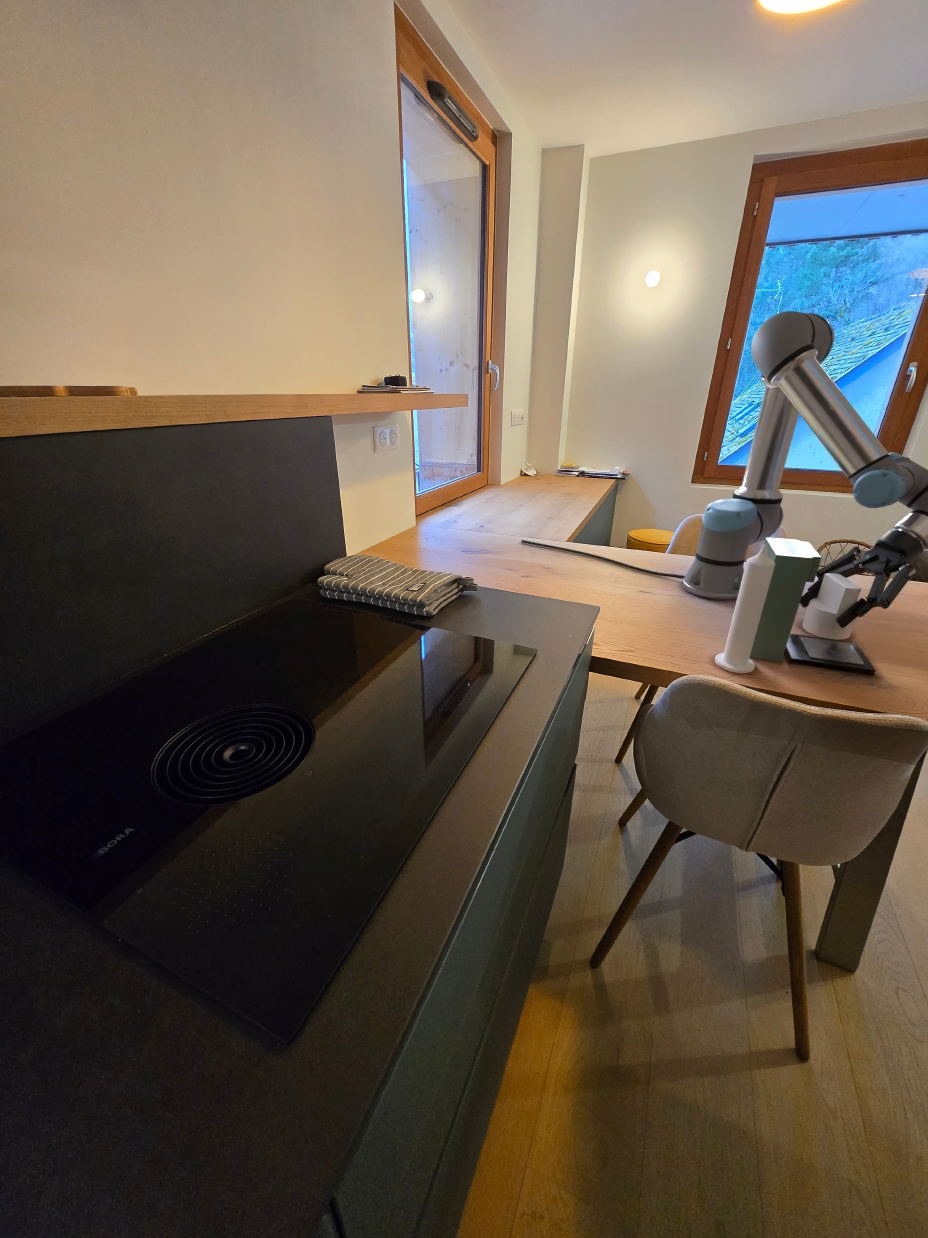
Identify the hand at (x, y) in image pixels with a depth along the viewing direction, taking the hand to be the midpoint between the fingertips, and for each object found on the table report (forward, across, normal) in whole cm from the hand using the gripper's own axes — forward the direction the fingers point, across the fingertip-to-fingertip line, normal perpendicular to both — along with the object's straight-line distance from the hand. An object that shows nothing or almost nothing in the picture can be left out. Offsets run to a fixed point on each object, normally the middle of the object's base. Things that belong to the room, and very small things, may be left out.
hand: (819, 613), depth 109 cm
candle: (+22, -9, +16) cm, 29 cm away
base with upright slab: (+1, 0, -5) cm, 6 cm away
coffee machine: (+10, -8, +4) cm, 13 cm away
